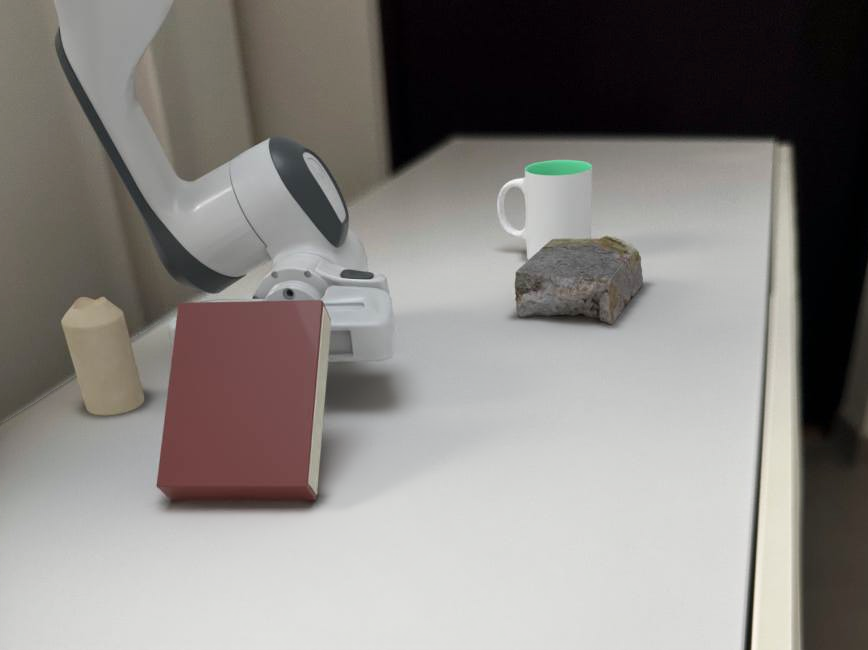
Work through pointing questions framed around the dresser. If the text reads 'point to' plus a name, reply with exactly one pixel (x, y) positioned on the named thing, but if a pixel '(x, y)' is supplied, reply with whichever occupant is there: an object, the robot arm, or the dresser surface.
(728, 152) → the dresser surface
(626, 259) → the geological specimen
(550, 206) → the mug
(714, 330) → the dresser surface
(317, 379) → the book
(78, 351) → the candle
